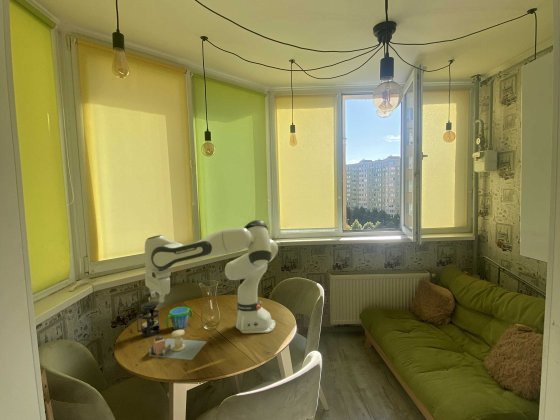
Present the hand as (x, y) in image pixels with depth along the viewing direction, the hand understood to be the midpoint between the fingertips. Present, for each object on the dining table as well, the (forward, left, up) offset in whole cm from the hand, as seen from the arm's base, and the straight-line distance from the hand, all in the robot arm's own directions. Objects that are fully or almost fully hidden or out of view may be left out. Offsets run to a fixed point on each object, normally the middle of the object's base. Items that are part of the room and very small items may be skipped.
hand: (157, 299), depth 133 cm
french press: (+17, -16, -27) cm, 36 cm away
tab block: (0, 0, -25) cm, 25 cm away
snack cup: (+5, -26, -27) cm, 38 cm away
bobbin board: (-7, -4, -27) cm, 28 cm away
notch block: (0, 0, -26) cm, 26 cm away
